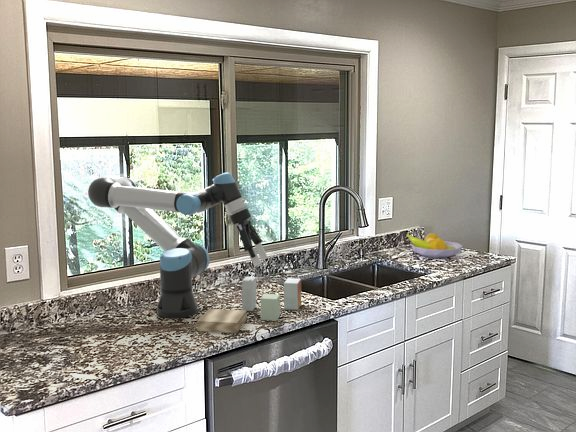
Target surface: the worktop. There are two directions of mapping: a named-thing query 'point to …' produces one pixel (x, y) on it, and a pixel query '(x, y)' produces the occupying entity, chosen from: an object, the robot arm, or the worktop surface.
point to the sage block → (270, 306)
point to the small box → (292, 294)
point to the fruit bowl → (434, 246)
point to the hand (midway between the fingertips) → (261, 262)
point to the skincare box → (249, 293)
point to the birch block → (222, 320)
